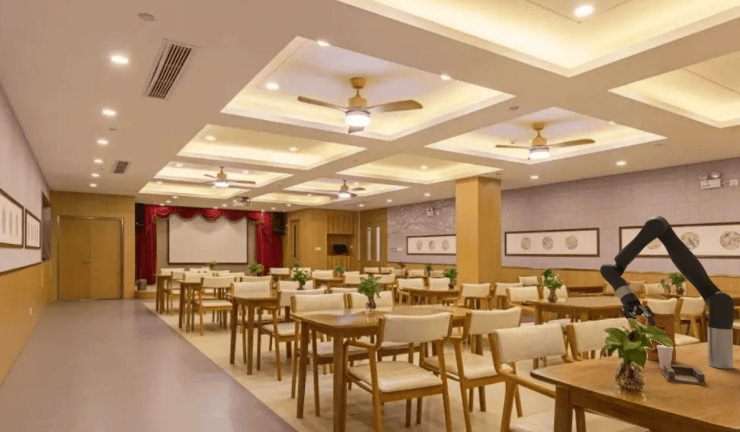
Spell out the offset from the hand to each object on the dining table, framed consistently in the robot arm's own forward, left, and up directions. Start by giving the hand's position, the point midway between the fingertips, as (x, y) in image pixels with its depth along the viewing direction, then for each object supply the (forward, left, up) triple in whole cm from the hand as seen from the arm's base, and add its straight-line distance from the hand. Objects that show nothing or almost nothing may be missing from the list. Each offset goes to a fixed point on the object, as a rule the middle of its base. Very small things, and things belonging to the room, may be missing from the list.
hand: (645, 325), depth 230 cm
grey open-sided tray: (+25, +10, -17) cm, 32 cm away
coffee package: (-10, +7, -17) cm, 21 cm away
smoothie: (+9, +6, -17) cm, 20 cm away
